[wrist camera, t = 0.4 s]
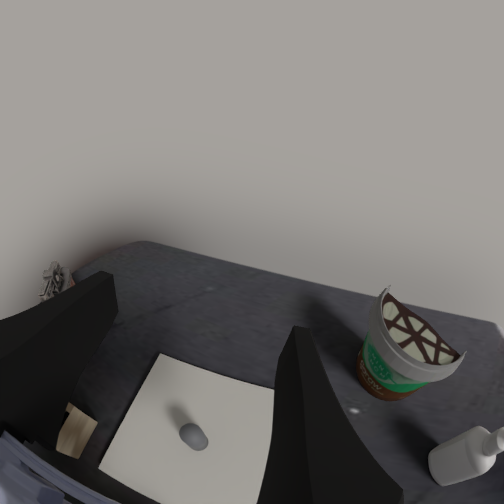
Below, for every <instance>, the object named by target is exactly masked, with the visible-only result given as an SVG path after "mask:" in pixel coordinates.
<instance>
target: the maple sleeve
mask: <svg viewBox="0 0 504 504" xmlns="http://www.w3.org/2000/svg"><path fill="white" fill-rule="evenodd" d="M66 411H68V412H69V413H70V414H69V416H68V418H67V420H66V421H65V423H64V425H63V427H62V428H61V430H60V432H59V436H58V441H57V446H56V450H57V451H59V452H61V453H63V454H66V455H68V456H71V457H74V458H76V459H79V457H80V455H81V453H82V451H83V449H84V447H85V446H86V444H87V442H88V440H89V438H90V436H91V434H92V433H93V431H94V429H95V427H96V425H97V423H98V422H96V421H95V420H93V419H92V418H90V417H89V416H87V415H86V414H84V413H83V412H82V411H80V410H79V409H77V408H76V407H75V406H73V405H72V404H71V403H68V405H67V408H66ZM66 411H65V412H66Z"/></svg>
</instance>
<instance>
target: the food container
mask: <svg viewBox="0 0 504 504" xmlns="http://www.w3.org/2000/svg"><path fill="white" fill-rule="evenodd" d="M389 289H390V286H389V287H388V288H385V290H384V291H383V292H382V293H381V294H380V295H379V296H378V297H377V299H376V300H375V302H374V303H373V305H372V307H371V310H370V314H369V331H368V333H367V336H366V338H365V341H364V343H363V345H362V347H361V350H360V352H359V354H358V356H357V362H356V371H357V375H358V379H359V381H360V383H361V384H362V386H363V388H364V389H365V390H366V391H367V392H368V393H369V394H371V395H372V396H374V397H376V398H378V399H380V400H385V401H397V400H401V399H403V398H405V397H407V396H409V395H411V394H412V393H414V392H415V391H417V390H419V389H420V388H422V387H423V386H425V385H426V384H428V383H429V382H433V381H439V380H441V379H444V378H446V377H448V376H449V375H451V374H452V373H453V372H454V371H455V370H456V369H457V367H458V366H459V364H460V363H461V361H462V360H463V358H464V357H465V356H464V355H465V353H466V352H467V351H465V352H464V353H463V354H462V355H459V354H458V353H457V352H456V351H455V350H454V349H452V348H451V347H450V346H449V345H448V344H447V343H446V342H445V341H444V340H443V339H442V338H441V337H440V336H439V335H438V334H437V332H436V331H435V330H434V329H433V328H432V327H431V326H430V325H429V324H428V323H427V322H426V321H425V320H424V319H422V318H421V317H419V316H418V315H416V314H415V313H413V312H412V311H410V310H409V309H407V308H406V307H405V306H403V305H402V304H401V303H400V302H399V301H397V300H396V299H395V298H394V297H393V296H392V295H390V294H389V293H388V291H389Z"/></svg>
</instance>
